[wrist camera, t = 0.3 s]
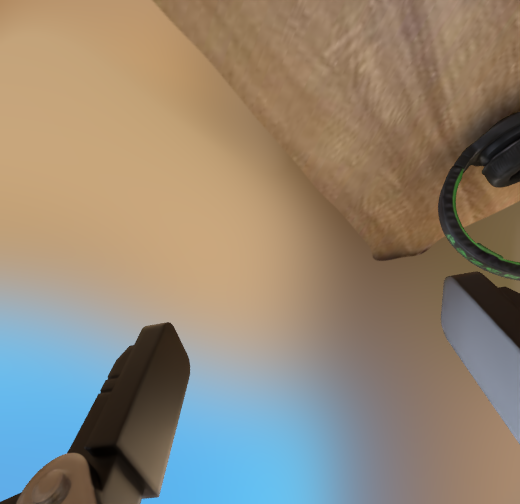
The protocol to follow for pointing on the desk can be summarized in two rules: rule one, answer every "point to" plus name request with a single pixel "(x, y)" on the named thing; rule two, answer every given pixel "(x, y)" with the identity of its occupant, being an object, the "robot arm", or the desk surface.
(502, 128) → the headset
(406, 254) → the desk surface
